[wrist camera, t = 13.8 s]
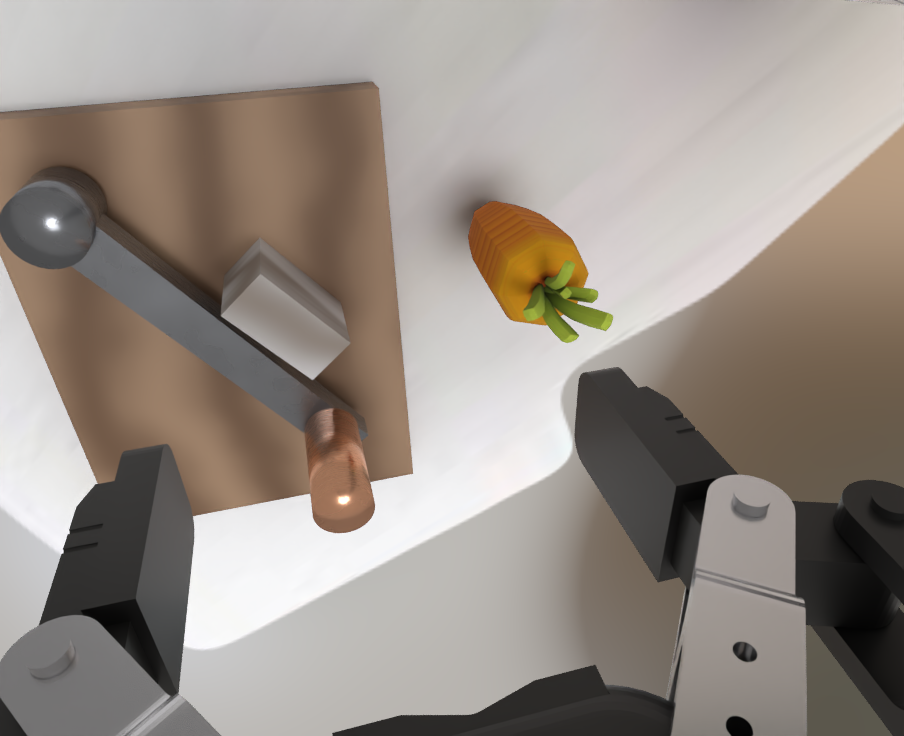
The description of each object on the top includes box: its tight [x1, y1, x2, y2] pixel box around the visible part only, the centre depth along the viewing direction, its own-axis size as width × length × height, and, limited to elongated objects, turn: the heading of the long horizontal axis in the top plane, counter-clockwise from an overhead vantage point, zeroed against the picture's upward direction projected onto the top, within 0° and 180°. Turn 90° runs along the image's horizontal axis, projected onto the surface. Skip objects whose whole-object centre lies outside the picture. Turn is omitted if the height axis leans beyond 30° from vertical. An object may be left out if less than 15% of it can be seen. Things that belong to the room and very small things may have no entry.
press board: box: [0, 82, 413, 516], centre depth 38 cm, size 20×26×7 cm
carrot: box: [468, 201, 613, 343], centre depth 35 cm, size 5×5×15 cm
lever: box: [0, 167, 375, 533], centre depth 34 cm, size 4×22×10 cm, turn 40°
